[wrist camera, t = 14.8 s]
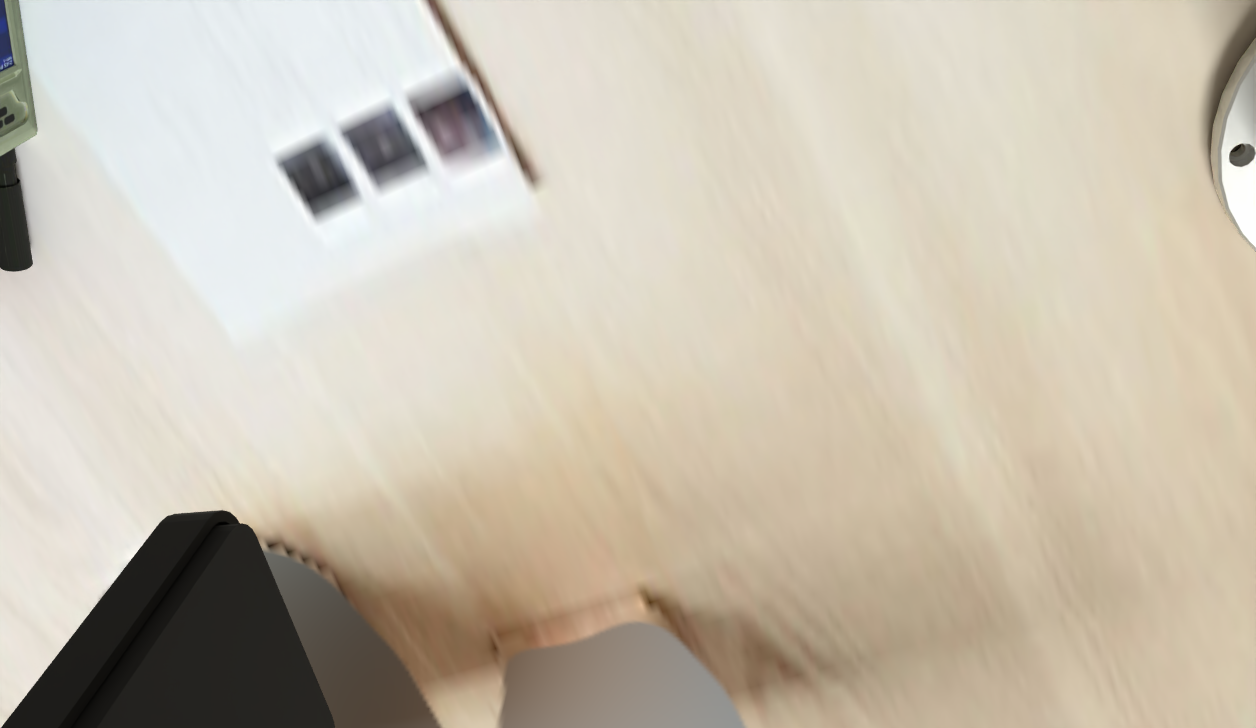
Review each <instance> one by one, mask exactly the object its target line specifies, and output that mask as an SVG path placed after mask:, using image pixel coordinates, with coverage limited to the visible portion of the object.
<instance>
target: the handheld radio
mask: <svg viewBox="0 0 1256 728" xmlns="http://www.w3.org/2000/svg"><path fill="white" fill-rule="evenodd" d="M36 134H37V124H36V117H35V110H34V104H33V97H32V90H31V83H30V76H29V70H28V63H27V56H26V49H25V42H24V35H23V29H22V22H21V15H20V8H19V1H18V0H0V268H1V269H3V270H5V271H22V270H25V269H28V268H30V267H31V266H32V264H33V261H32V255H31V249H30V243H29V236H28V230H27V224H26V217H25V211H24V205H23V199H22V192H21V186H20V180H19V179H18V178H16V171H15V165H14V163H15V162H16V155H15V147H17V146H18V145H20V144H22V143H24V142H25V141H27V140H29V139H30V138H32V137H34V136H35V135H36Z"/></svg>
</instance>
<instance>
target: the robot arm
mask: <svg viewBox="0 0 1256 728" xmlns="http://www.w3.org/2000/svg"><path fill="white" fill-rule="evenodd" d="M1239 144H1241V147H1240V148H1239V149H1238V150H1237V151H1235V152H1230V151H1231V150H1232V149H1233V148H1234V147H1235V146H1237V145H1239ZM1210 158H1211V165H1212V172H1213V179H1214V186H1215V189H1216V191H1217V194H1218V197H1219V199H1220V202H1221V204H1222V207H1223V209H1224V212H1225V214H1226V215H1227V217H1228V218H1229V219H1230V221H1231V222H1232V224H1233V225H1234V227H1235V228H1236V230H1237V231H1238V233H1239V234H1240V235H1241V236H1242V237H1243V238H1244V239H1245V241H1246V242H1247V243H1248V244H1249V245H1250V246H1251V247H1252V248H1253V249H1254V250H1255V251H1256V38H1255V39H1254V40H1253V42H1252V43H1251V45H1250V46H1249V47H1248V49H1247V50H1246V51H1245V53H1244V54H1243V56H1242V57H1241V58H1240V60H1239V61H1238V63H1237V65H1236V67H1235V69H1234V71H1233V73H1232V75H1231V77H1230V79H1229V81H1228V83H1227V85H1226V87H1225V89H1224V91H1223V93H1222V96H1221V100H1220V103H1219V107H1218V110H1217V114H1216V117H1215V120H1214V124H1213V131H1212V144H1211V156H1210ZM1 728H335V726H334V721H333V717H332V715H331V712H330V710H329V707H328V705H327V703H326V700H325V698H324V696H323V693H322V691H321V689H320V686H319V684H318V681H317V679H316V677H315V674H314V672H313V669H312V667H311V665H310V663H309V660H308V658H307V655H306V653H305V651H304V648H303V646H302V643H301V641H300V639H299V636H298V634H297V632H296V629H295V627H294V625H293V622H292V620H291V617H290V615H289V613H288V610H287V608H286V605H285V603H284V601H283V598H282V596H281V594H280V592H279V589H278V587H277V584H276V582H275V579H274V577H273V575H272V572H271V570H270V567H269V565H268V563H267V561H266V558H265V556H264V553H263V551H262V548H261V546H260V544H259V541H258V539H257V537H256V535H255V533H254V531H253V529H252V528H250V527H249V526H248V525H246V524H240V523H239V522H238V520H237V518H236V517H235V516H234V515H232V514H231V513H230V512H227V511H223V510H221V511H207V512H194V513H181V514H173V515H170V516H167V517H166V518H165V519H163V520H162V521H161V522H160V523H159V525H158V526H157V527H156V528H155V530H154V531H153V532H152V534H151V535H150V536H149V537H148V539H147V540H146V541H145V543H144V544H143V545H142V546H141V548H140V549H139V550H138V552H137V553H136V554H135V556H134V557H133V558H132V559H131V561H130V562H129V563H128V565H127V566H126V567H125V568H124V570H123V571H122V572H121V574H120V575H119V576H118V577H117V579H116V580H115V581H114V583H113V584H112V585H111V587H110V588H109V589H108V590H107V592H106V593H105V594H104V596H103V597H102V598H101V599H100V601H99V602H98V603H97V605H96V606H95V607H94V608H93V610H92V611H91V612H90V614H89V615H88V616H87V617H86V619H85V620H84V621H83V623H82V624H81V625H80V627H79V628H78V629H77V630H76V632H75V633H74V634H73V636H72V637H71V638H70V639H69V641H68V642H67V643H66V645H65V646H64V647H63V648H62V650H61V651H60V652H59V654H58V655H57V656H56V658H55V659H54V660H53V661H52V663H51V664H50V665H49V667H48V668H47V669H46V670H45V672H44V673H43V674H42V676H41V677H40V678H39V679H38V681H37V682H36V683H35V685H34V686H33V687H32V689H31V690H30V691H29V692H28V694H27V695H26V696H25V698H24V699H23V700H22V701H21V703H20V704H19V705H18V707H17V708H16V709H15V710H14V712H13V713H12V714H11V716H10V717H9V718H8V719H7V721H6V722H5V723H4V725H3V726H2V727H1Z"/></svg>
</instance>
